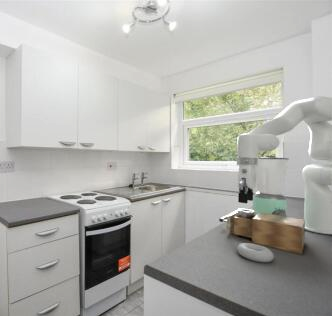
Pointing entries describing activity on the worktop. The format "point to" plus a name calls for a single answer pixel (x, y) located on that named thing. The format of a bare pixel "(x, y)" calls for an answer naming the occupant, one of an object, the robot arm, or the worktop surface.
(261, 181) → the juicer
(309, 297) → the worktop surface
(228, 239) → the worktop surface
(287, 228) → the cabinet
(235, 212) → the drawer
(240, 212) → the measuring cup
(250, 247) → the donut
